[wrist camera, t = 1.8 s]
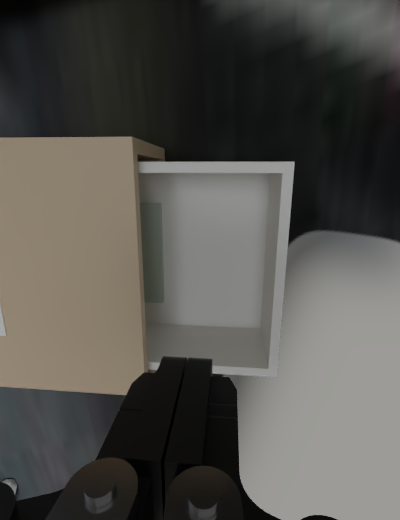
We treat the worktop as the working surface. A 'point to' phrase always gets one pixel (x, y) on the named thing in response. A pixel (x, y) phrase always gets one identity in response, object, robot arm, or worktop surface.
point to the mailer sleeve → (72, 263)
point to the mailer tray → (215, 261)
